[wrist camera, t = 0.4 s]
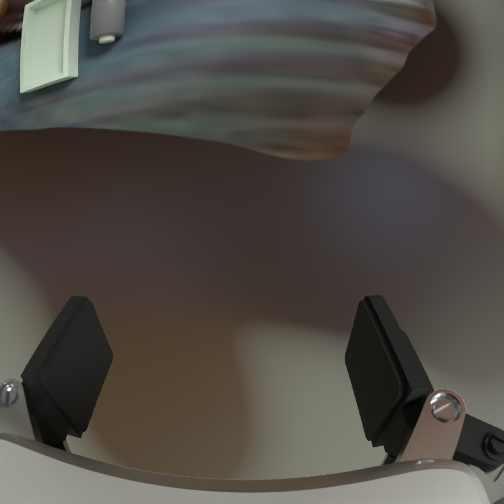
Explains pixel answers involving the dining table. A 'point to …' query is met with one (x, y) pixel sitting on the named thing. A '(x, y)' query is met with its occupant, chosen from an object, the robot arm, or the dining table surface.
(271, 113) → the dining table surface
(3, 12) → the food container
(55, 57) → the sage trough
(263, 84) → the dining table surface
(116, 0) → the gray cylinder
